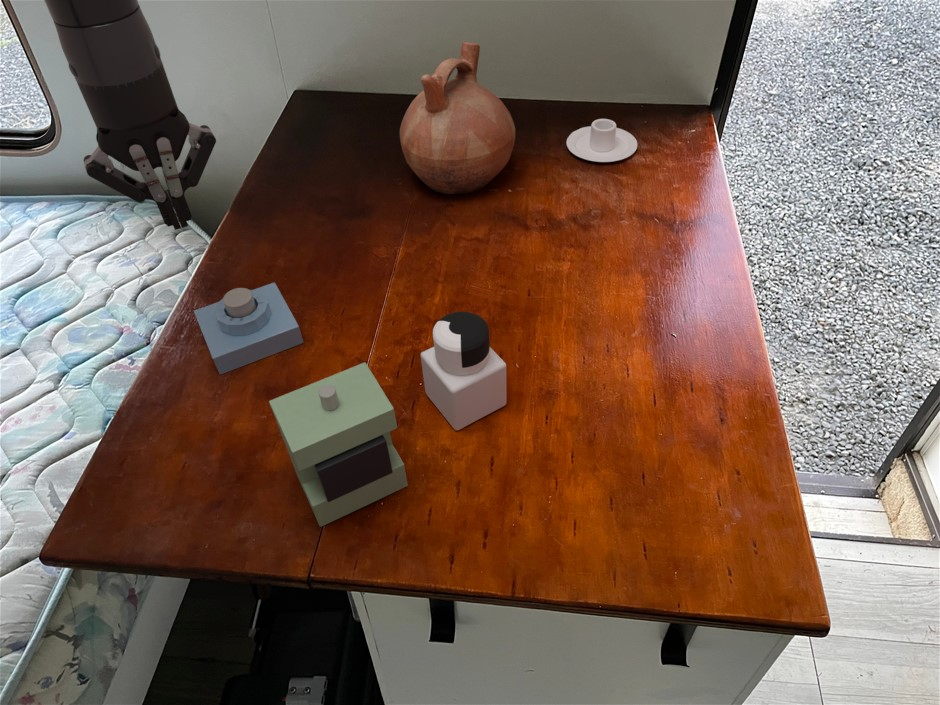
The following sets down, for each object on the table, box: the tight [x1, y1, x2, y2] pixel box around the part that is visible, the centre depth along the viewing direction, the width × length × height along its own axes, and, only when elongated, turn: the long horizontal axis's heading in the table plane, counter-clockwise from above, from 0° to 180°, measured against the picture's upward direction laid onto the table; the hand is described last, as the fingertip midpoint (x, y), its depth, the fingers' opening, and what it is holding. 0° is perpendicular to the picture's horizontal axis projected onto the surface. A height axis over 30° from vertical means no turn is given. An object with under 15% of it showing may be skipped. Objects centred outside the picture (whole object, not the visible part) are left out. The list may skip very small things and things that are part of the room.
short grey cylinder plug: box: [222, 287, 256, 318], centre depth 89 cm, size 4×4×2 cm
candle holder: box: [565, 118, 638, 163], centre depth 120 cm, size 12×12×4 cm
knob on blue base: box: [193, 281, 305, 376], centre depth 91 cm, size 11×10×5 cm
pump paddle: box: [314, 435, 393, 502], centre depth 69 cm, size 7×1×5 cm, turn 119°
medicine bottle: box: [420, 311, 508, 432], centre depth 79 cm, size 7×7×12 cm
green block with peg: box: [268, 362, 409, 528], centre depth 71 cm, size 10×7×15 cm
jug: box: [399, 41, 516, 195], centre depth 110 cm, size 18×18×20 cm
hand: (179, 224), depth 76 cm, fingers closed
